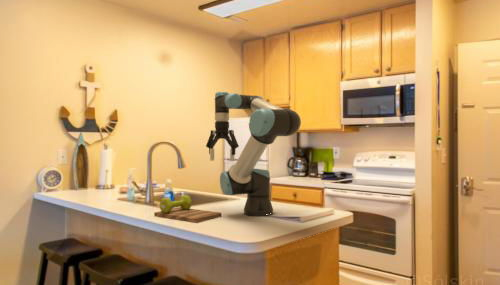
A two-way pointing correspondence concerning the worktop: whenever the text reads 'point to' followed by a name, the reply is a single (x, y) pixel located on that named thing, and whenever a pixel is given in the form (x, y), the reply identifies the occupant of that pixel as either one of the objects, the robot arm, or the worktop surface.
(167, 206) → the dumbbell
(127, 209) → the worktop surface
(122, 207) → the worktop surface
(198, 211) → the board
